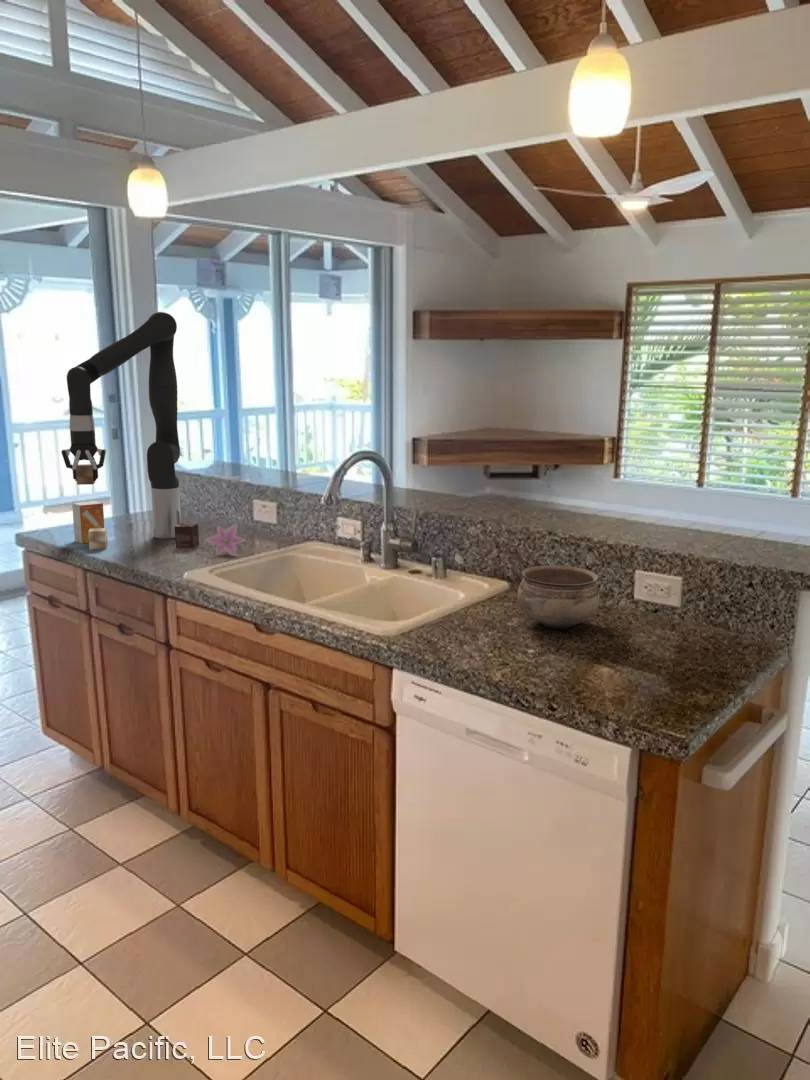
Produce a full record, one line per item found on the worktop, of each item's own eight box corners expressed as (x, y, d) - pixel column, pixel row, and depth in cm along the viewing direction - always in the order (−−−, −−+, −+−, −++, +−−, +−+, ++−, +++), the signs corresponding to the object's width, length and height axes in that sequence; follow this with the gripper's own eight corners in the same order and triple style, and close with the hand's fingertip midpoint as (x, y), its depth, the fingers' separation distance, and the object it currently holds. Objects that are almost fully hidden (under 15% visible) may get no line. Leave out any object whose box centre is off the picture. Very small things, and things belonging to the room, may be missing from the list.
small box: (82, 544, 266) (79, 505, 263) (74, 541, 270) (71, 502, 267) (105, 540, 271) (103, 502, 268) (98, 537, 276) (95, 500, 273)
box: (199, 544, 268) (198, 523, 266) (193, 548, 262) (192, 526, 260) (182, 544, 268) (181, 522, 267) (175, 548, 262) (174, 526, 261)
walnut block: (95, 482, 270) (94, 464, 268) (93, 484, 265) (92, 466, 264) (79, 482, 268) (78, 464, 267) (77, 484, 264) (75, 466, 262)
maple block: (107, 545, 264) (106, 528, 263) (105, 549, 259) (104, 531, 258) (91, 546, 263) (90, 528, 262) (89, 549, 258) (88, 531, 257)
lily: (202, 555, 257) (201, 535, 251) (223, 537, 264) (222, 516, 258) (230, 569, 253) (230, 548, 248) (251, 550, 261) (251, 530, 255)
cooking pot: (551, 605, 205) (554, 558, 202) (619, 621, 192) (622, 572, 189) (492, 627, 187) (494, 576, 184) (562, 647, 174) (565, 593, 172)
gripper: (106, 428, 268) (110, 478, 272) (60, 428, 265) (64, 479, 268) (104, 429, 261) (107, 481, 265) (56, 430, 258) (60, 482, 261)
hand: (85, 480), depth 266 cm, fingers closed on walnut block, 5 cm apart
